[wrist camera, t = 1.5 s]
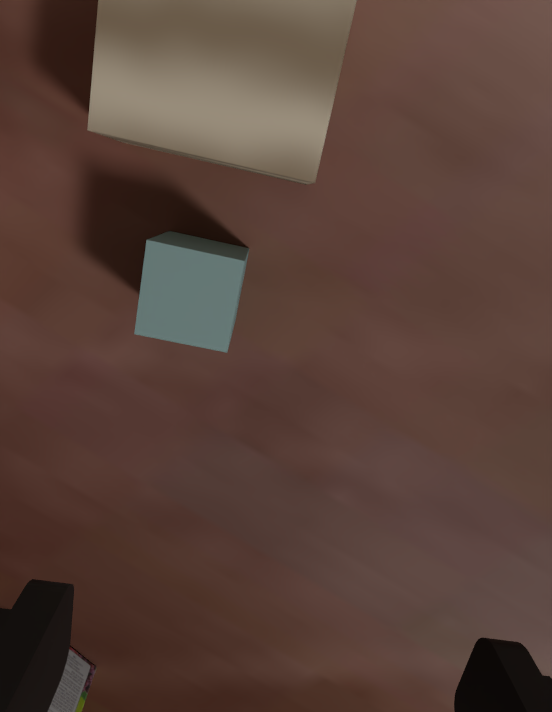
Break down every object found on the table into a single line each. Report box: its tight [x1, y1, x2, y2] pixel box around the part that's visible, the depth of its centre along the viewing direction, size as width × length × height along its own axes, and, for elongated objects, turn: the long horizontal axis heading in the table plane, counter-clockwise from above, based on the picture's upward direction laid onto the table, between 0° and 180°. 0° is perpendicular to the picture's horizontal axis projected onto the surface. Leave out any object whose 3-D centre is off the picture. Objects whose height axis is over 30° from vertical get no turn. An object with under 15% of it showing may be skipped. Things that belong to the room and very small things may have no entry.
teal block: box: [135, 231, 249, 352], centre depth 28 cm, size 5×5×6 cm
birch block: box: [88, 0, 357, 185], centre depth 24 cm, size 11×11×6 cm
